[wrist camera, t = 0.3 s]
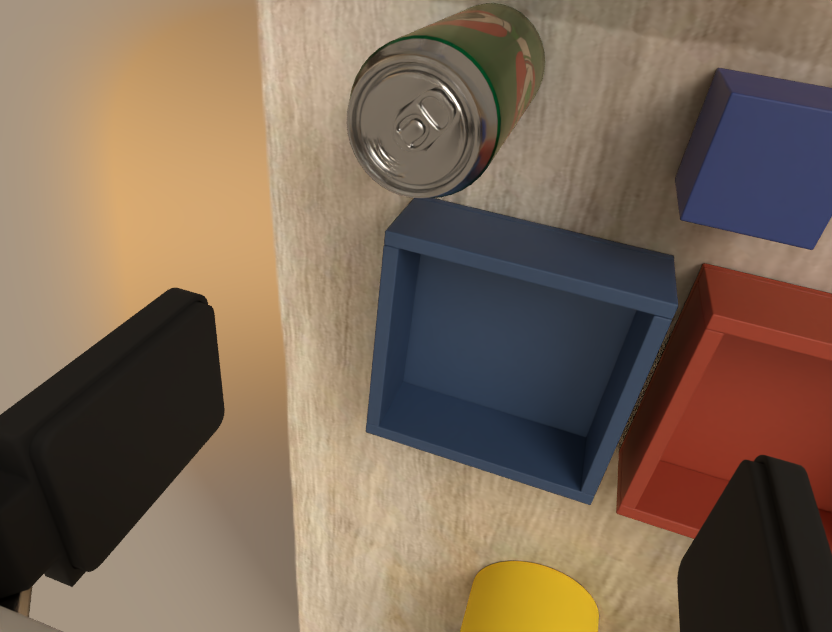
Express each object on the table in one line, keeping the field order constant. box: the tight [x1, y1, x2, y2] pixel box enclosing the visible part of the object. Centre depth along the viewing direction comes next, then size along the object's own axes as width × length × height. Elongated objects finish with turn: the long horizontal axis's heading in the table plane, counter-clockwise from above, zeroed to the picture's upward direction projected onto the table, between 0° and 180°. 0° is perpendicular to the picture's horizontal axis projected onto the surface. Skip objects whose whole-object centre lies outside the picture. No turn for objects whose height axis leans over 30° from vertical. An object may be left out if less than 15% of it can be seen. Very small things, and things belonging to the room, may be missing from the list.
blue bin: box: [366, 198, 678, 505], centre depth 33 cm, size 14×14×5 cm
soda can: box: [347, 3, 545, 198], centre depth 23 cm, size 5×5×12 cm
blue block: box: [675, 68, 832, 250], centre depth 24 cm, size 5×5×5 cm
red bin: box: [616, 263, 832, 553], centre depth 30 cm, size 14×14×5 cm
